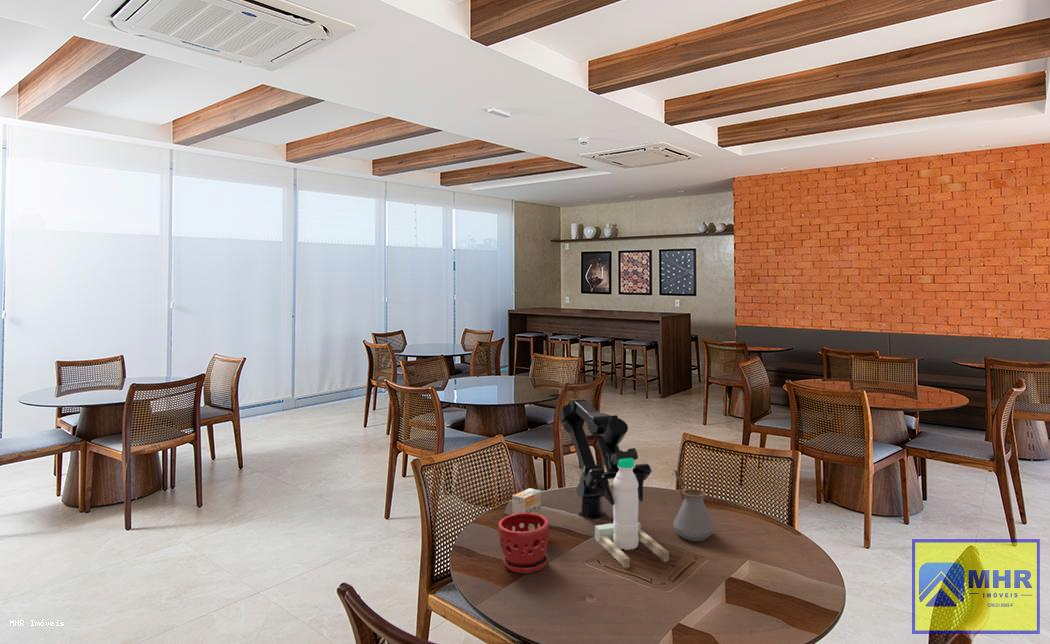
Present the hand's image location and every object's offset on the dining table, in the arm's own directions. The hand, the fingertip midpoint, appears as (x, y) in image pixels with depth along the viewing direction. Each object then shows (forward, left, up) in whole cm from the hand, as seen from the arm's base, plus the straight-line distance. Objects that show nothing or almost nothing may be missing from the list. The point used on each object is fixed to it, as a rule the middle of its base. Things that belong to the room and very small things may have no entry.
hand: (627, 502), depth 166 cm
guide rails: (+1, +3, -13) cm, 13 cm away
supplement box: (+13, -26, -13) cm, 32 cm away
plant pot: (+27, -14, -13) cm, 33 cm away
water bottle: (-1, -1, -13) cm, 13 cm away
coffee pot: (-23, +6, -13) cm, 27 cm away
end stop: (-3, -6, -13) cm, 14 cm away
